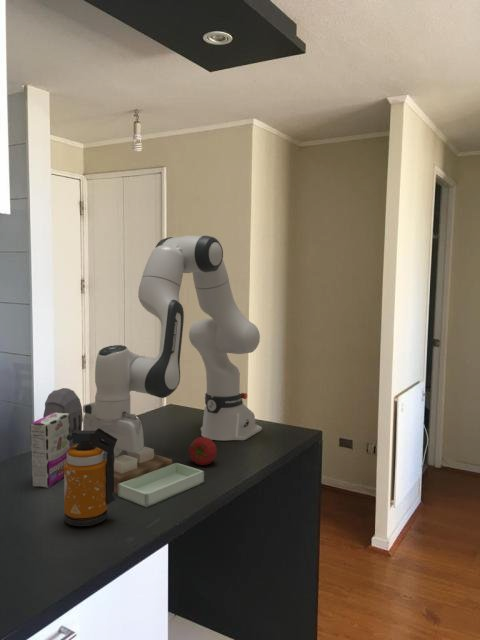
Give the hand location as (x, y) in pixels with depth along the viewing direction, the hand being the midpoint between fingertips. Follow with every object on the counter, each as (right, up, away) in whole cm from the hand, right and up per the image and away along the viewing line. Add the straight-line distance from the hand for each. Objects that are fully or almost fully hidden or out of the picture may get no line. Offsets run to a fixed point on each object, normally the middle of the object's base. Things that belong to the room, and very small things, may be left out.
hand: (113, 461), depth 142 cm
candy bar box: (-16, -5, 0) cm, 17 cm away
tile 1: (+3, -1, -2) cm, 4 cm away
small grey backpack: (-18, -3, +20) cm, 27 cm away
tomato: (+22, -5, +14) cm, 26 cm away
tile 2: (+6, -1, +6) cm, 8 cm away
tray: (+14, -6, -5) cm, 15 cm away
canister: (+1, -7, -23) cm, 24 cm away
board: (+4, -5, +2) cm, 7 cm away
